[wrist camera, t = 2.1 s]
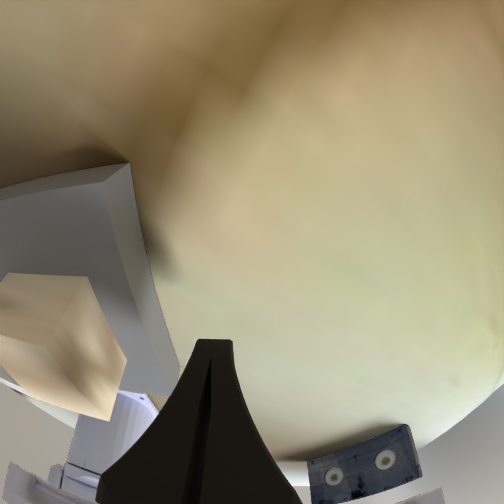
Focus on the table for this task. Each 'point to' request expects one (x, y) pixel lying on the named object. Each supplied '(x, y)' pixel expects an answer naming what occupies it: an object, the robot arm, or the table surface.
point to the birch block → (59, 343)
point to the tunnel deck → (93, 261)
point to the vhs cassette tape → (365, 468)
